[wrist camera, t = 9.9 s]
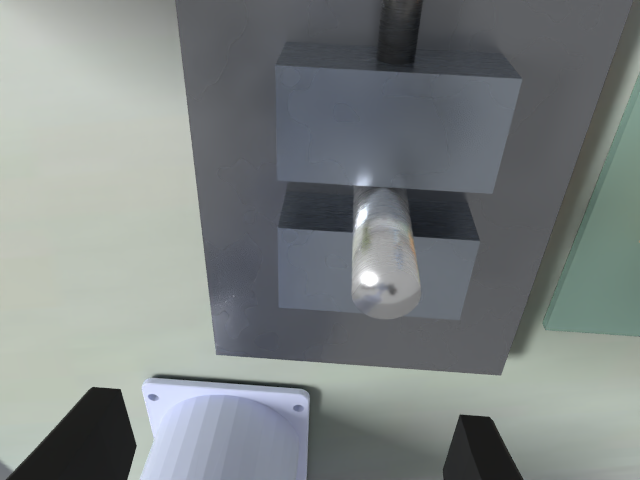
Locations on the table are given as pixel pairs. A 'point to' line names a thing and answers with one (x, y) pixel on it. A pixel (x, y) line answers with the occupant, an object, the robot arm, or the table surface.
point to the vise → (385, 168)
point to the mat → (606, 245)
